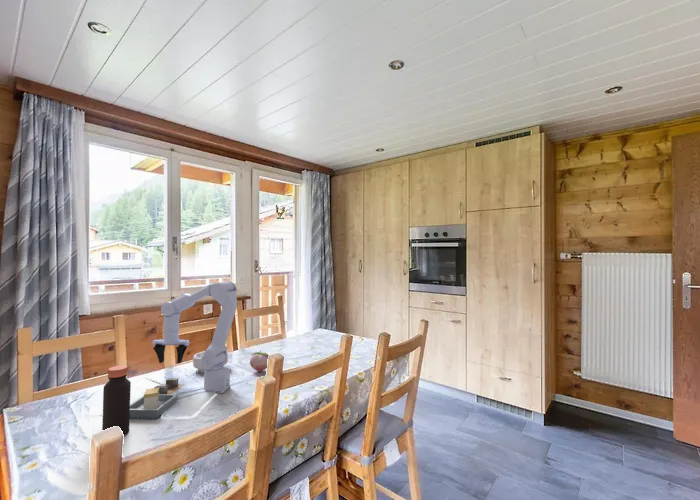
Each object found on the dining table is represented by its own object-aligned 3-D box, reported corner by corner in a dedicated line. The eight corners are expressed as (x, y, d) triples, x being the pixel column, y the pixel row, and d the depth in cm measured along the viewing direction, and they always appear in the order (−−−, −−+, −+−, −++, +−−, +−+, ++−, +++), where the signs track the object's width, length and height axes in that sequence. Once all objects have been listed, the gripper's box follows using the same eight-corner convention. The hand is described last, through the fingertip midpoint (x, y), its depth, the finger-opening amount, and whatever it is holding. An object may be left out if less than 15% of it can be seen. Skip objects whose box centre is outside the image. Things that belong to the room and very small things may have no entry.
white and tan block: (158, 404, 120) (159, 387, 120) (156, 410, 115) (157, 392, 115) (146, 406, 118) (146, 389, 118) (143, 412, 113) (144, 394, 114)
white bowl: (188, 369, 159) (189, 352, 159) (220, 363, 169) (220, 347, 169) (198, 378, 147) (199, 360, 148) (232, 371, 158) (232, 354, 158)
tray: (177, 402, 123) (177, 394, 123) (157, 419, 110) (157, 410, 110) (145, 402, 123) (145, 394, 123) (121, 418, 110) (121, 409, 110)
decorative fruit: (272, 369, 161) (273, 348, 161) (266, 375, 153) (267, 353, 153) (253, 368, 162) (254, 347, 162) (247, 374, 153) (247, 352, 154)
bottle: (98, 442, 96) (101, 372, 96) (105, 431, 102) (107, 365, 102) (126, 437, 98) (128, 369, 99) (131, 427, 105) (133, 363, 105)
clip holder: (184, 386, 138) (184, 377, 138) (167, 400, 125) (167, 389, 125) (165, 386, 138) (165, 376, 138) (146, 399, 125) (146, 389, 125)
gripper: (193, 328, 144) (192, 359, 143) (159, 327, 144) (158, 359, 143) (184, 331, 137) (184, 365, 136) (149, 331, 137) (148, 364, 136)
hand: (170, 362), depth 139 cm, fingers open, 7 cm apart
